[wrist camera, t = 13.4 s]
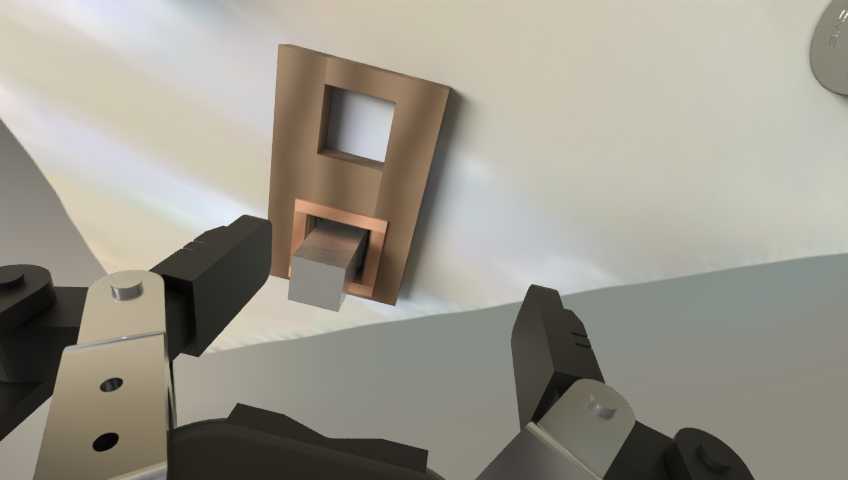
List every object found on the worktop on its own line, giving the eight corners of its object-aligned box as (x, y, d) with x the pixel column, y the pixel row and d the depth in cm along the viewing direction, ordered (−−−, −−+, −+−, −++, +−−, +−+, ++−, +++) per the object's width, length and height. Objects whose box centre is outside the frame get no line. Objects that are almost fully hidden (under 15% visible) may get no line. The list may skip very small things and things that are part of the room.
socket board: (450, 86, 34) (449, 90, 32) (398, 292, 44) (394, 307, 41) (290, 44, 34) (276, 44, 31) (274, 261, 44) (263, 275, 41)
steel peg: (369, 224, 41) (345, 269, 33) (361, 261, 43) (338, 312, 35) (326, 213, 40) (292, 255, 32) (320, 250, 42) (287, 299, 34)
